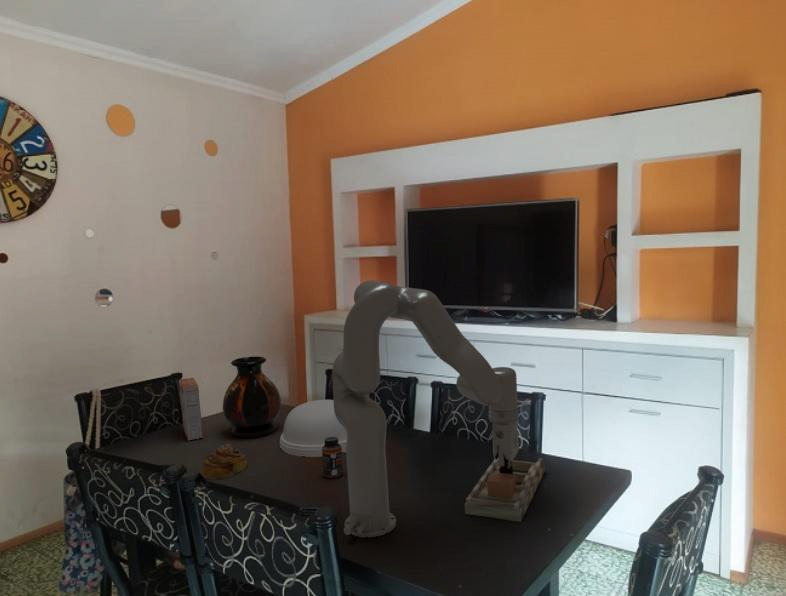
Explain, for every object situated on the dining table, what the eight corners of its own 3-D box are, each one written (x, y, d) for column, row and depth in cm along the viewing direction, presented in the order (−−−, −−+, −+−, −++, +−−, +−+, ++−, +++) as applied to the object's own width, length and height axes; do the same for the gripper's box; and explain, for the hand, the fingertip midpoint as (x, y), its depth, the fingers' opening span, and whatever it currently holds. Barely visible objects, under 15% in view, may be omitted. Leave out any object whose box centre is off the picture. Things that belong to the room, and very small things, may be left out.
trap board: (520, 521, 141) (520, 505, 141) (465, 513, 147) (464, 498, 147) (544, 471, 170) (544, 458, 170) (497, 466, 176) (496, 453, 176)
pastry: (255, 464, 190) (253, 440, 189) (225, 482, 176) (223, 456, 175) (221, 460, 195) (219, 437, 194) (190, 478, 181) (188, 453, 181)
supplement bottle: (340, 479, 173) (337, 442, 172) (320, 478, 175) (318, 441, 173) (345, 471, 179) (343, 435, 178) (327, 471, 180) (324, 435, 179)
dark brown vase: (224, 428, 230) (218, 357, 228) (279, 420, 237) (274, 351, 234) (225, 445, 210) (219, 368, 207) (286, 435, 216) (280, 361, 214)
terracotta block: (511, 498, 148) (510, 483, 148) (487, 495, 151) (487, 480, 151) (516, 489, 154) (515, 474, 154) (493, 486, 156) (493, 472, 156)
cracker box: (182, 432, 228) (178, 379, 226) (199, 429, 231) (194, 376, 229) (186, 442, 215) (181, 386, 214) (203, 439, 218) (198, 383, 216)
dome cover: (263, 442, 211) (260, 404, 210) (333, 423, 230) (330, 387, 228) (310, 465, 186) (306, 422, 185) (383, 441, 205) (381, 402, 204)
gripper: (511, 424, 147) (514, 494, 149) (523, 407, 161) (526, 472, 162) (482, 422, 150) (485, 491, 152) (496, 405, 164) (499, 469, 166)
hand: (506, 481), depth 157 cm, fingers closed
